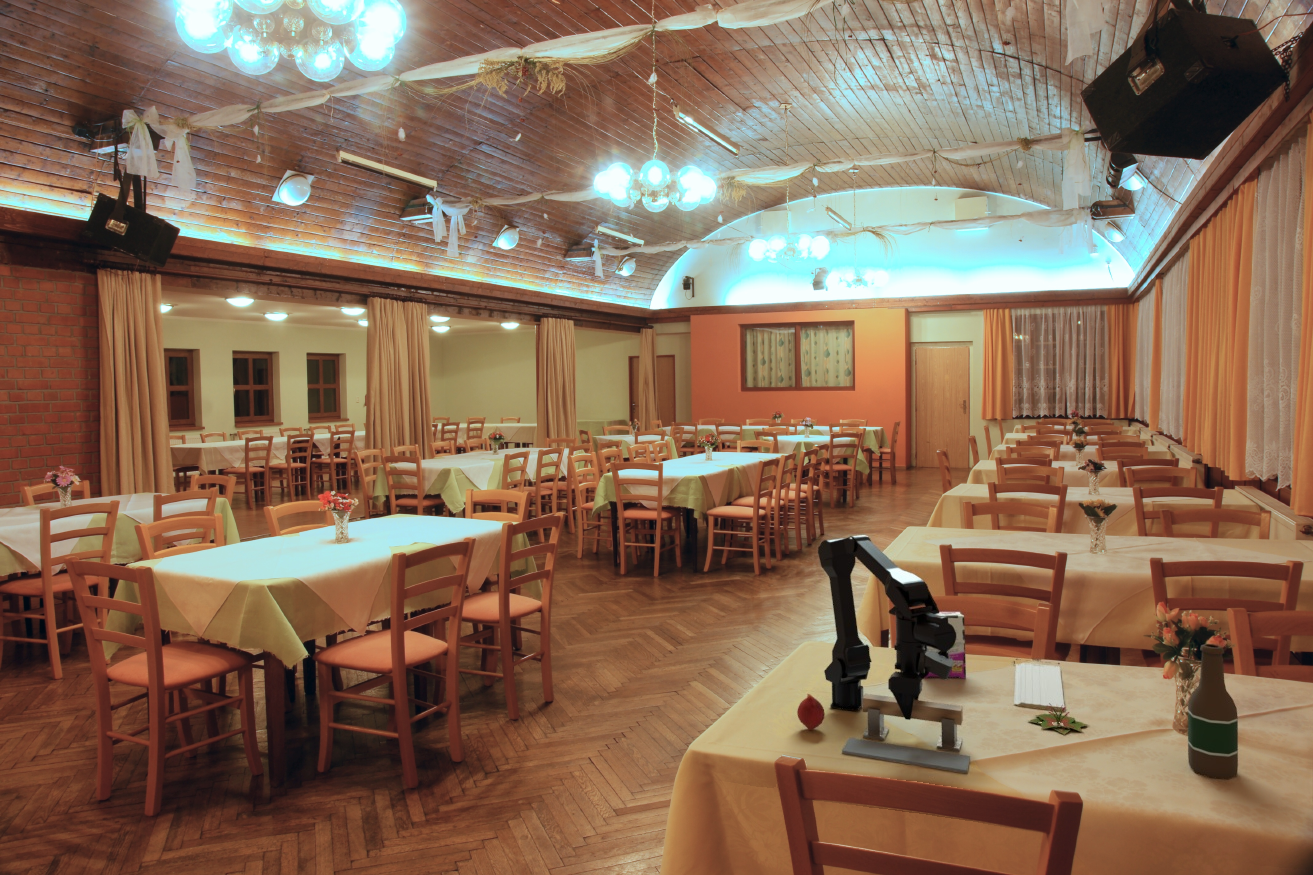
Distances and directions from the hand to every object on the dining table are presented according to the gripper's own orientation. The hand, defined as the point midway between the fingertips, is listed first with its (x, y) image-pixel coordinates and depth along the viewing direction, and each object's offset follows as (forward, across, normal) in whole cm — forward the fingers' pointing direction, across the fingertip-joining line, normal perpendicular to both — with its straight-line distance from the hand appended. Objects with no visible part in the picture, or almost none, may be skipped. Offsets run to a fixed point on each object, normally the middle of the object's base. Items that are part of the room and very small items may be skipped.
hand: (911, 711), depth 170 cm
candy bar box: (+6, +44, -1) cm, 44 cm away
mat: (+6, -9, 0) cm, 11 cm away
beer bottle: (+6, +6, -54) cm, 55 cm away
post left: (+6, 0, +7) cm, 9 cm away
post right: (+6, 0, -8) cm, 10 cm away
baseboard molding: (+7, +44, -23) cm, 50 cm away
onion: (+6, -3, +21) cm, 22 cm away
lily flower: (+6, +20, -28) cm, 35 cm away
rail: (+1, 0, 0) cm, 1 cm away
